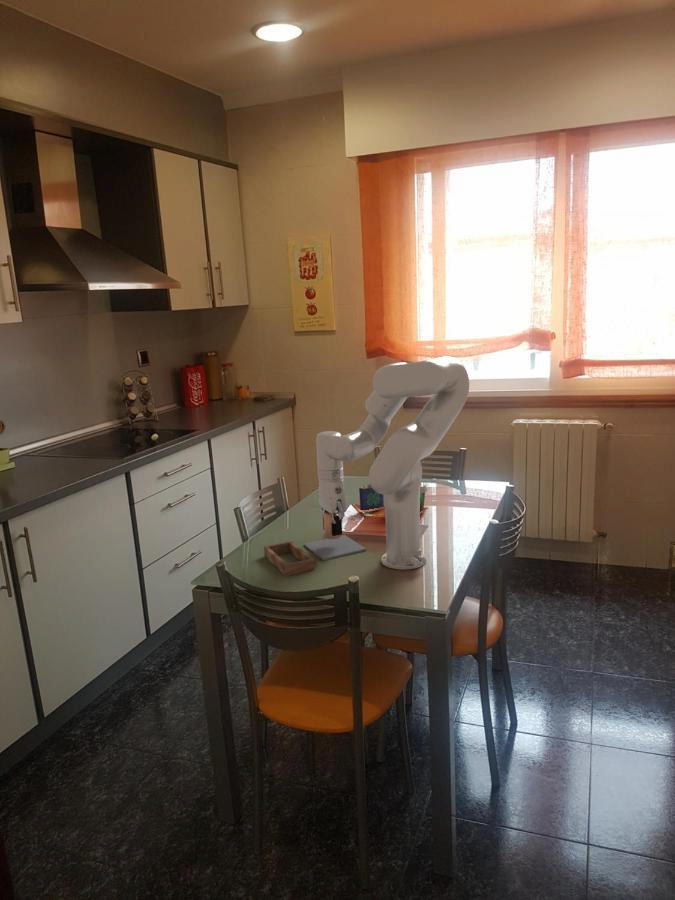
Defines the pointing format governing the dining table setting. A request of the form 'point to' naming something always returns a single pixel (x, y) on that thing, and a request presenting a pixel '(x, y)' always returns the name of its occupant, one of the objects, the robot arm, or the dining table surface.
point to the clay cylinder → (329, 526)
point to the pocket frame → (291, 568)
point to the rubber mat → (334, 547)
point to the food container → (422, 497)
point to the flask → (370, 498)
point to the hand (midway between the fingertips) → (332, 531)
